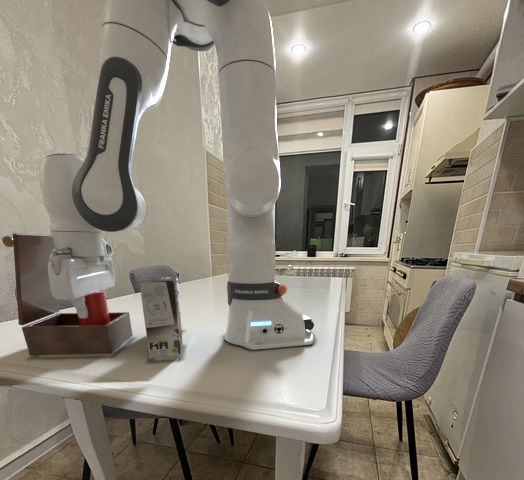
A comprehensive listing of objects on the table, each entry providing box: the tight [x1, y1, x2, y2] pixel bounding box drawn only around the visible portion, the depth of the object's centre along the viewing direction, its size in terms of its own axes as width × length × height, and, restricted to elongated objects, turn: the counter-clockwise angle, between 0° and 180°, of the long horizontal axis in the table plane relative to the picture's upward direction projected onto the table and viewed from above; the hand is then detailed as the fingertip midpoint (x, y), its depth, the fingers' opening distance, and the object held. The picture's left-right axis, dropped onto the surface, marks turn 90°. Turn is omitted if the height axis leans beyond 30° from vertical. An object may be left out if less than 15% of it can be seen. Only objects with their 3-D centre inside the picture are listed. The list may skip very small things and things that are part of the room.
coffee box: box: [139, 275, 184, 360], centre depth 61 cm, size 9×6×16 cm
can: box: [76, 290, 110, 325], centre depth 65 cm, size 6×6×12 cm
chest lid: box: [1, 232, 60, 326], centre depth 61 cm, size 17×13×5 cm
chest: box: [21, 311, 133, 356], centre depth 66 cm, size 17×13×7 cm
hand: (93, 313), depth 64 cm, fingers closed on can, 6 cm apart
